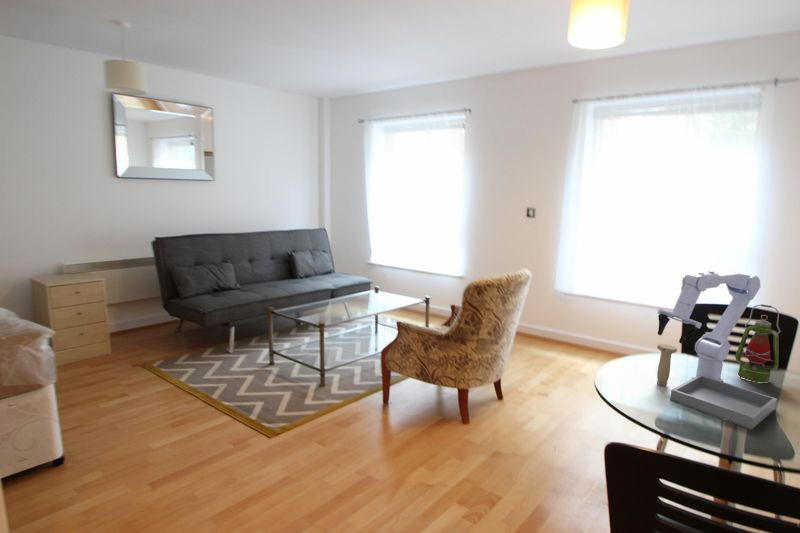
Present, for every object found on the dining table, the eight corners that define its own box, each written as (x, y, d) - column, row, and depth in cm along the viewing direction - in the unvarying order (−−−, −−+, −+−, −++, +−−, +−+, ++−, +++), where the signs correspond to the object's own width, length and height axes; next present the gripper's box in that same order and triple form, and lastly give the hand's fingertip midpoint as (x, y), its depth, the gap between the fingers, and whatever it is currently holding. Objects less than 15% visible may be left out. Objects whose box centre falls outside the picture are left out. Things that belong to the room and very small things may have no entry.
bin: (697, 384, 181) (699, 374, 181) (775, 409, 163) (777, 398, 162) (669, 400, 167) (671, 389, 166) (751, 429, 148) (753, 417, 147)
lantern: (730, 377, 190) (743, 304, 185) (733, 369, 199) (745, 299, 193) (774, 387, 182) (788, 311, 176) (775, 379, 190) (789, 306, 184)
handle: (668, 389, 176) (673, 350, 174) (650, 383, 181) (655, 345, 178) (673, 386, 179) (679, 347, 177) (655, 380, 184) (660, 342, 182)
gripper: (661, 295, 178) (646, 329, 178) (703, 309, 167) (687, 344, 167) (667, 300, 182) (653, 332, 183) (708, 313, 171) (693, 348, 172)
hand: (669, 338), depth 175 cm, fingers open, 7 cm apart
